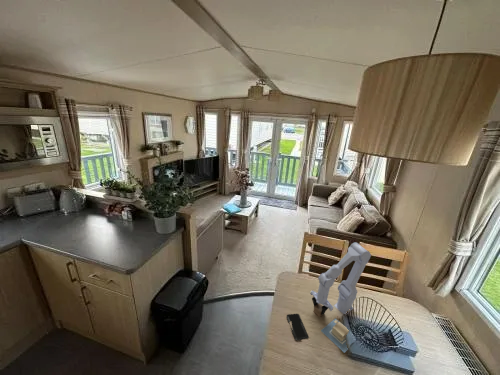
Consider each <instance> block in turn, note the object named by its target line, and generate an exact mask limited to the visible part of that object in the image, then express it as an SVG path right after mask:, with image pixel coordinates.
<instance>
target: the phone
mask: <svg viewBox="0 0 500 375" xmlns="http://www.w3.org/2000/svg"><path fill="white" fill-rule="evenodd" d="M286 319H287V322H288V324H289V327H290V331H291V333H292V336H293V339H294V340H295V341H297V342H298V341H302V340H308V339H309V333H308V332H307V329H306V327H305V325H304V323H303V320H302V318H301V315H300V314H299V313H290V314H286ZM290 322H291V324H290Z"/></svg>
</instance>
